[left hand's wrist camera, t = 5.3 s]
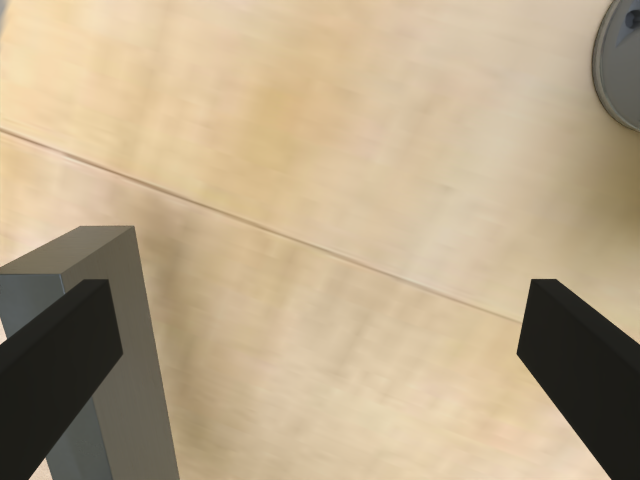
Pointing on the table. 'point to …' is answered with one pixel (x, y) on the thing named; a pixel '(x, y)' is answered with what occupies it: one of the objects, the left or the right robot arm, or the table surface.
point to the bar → (125, 377)
